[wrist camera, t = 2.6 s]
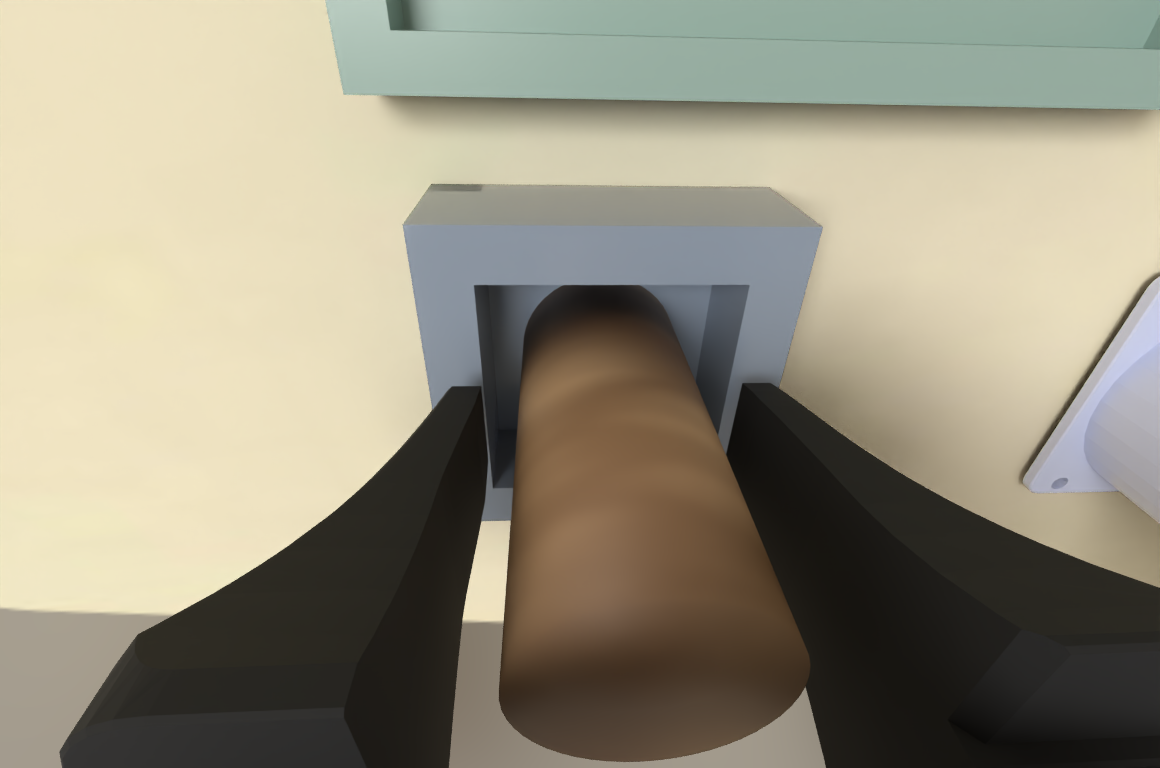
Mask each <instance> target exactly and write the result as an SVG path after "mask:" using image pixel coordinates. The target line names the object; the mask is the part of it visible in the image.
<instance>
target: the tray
mask: <svg viewBox="0 0 1160 768" xmlns="http://www.w3.org/2000/svg"><path fill="white" fill-rule="evenodd" d="M325 2H326V7H327V12H328V17H329V22H330V27H331V32H332V37H333V42H334V47H335V53H336V58H337V63H338V68H339V73H340V78H341V83H342V88H343V93H344V95H394V96H447V97H501V98H555V99H609V100H663V101H716V102H770V103H824V104H878V105H931V106H985V107H1039V108H1093V109H1147V110H1160V0H325Z"/></svg>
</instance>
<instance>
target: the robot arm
mask: <svg viewBox="0 0 1160 768" xmlns="http://www.w3.org/2000/svg"><path fill="white" fill-rule="evenodd" d="M726 456H727V459H728V461H729V463H730V466H731V468H732V471H733V473H734V476H735V478H736V480H737V483H738V485H739V488H740V490H741V492H742V495H743V497H744V500H745V502H746V504H747V507H748V509H749V512H750V514H751V517H752V519H753V521H754V524H755V526H756V529H757V531H758V533H759V536H760V538H761V541H762V543H763V545H764V548H765V550H766V553H767V555H768V557H769V560H770V562H771V565H772V567H773V570H774V572H775V574H776V577H777V579H778V582H779V584H780V586H781V589H782V591H783V594H784V596H785V598H786V601H787V603H788V606H789V608H790V610H791V613H792V615H793V618H794V620H795V623H796V625H797V627H798V630H799V632H800V635H801V637H802V639H803V642H804V644H805V647H806V649H807V651H808V654H809V659H810V673H809V678H808V681H807V683H806V690H807V693H808V697H809V701H810V705H811V709H812V713H813V716H814V721H815V724H816V728H817V732H818V736H819V740H820V744H821V748H822V752H823V756H824V760H825V765H826V768H1160V588H1158V587H1155V586H1152V585H1150V584H1147V583H1144V582H1141V581H1138V580H1135V579H1132V578H1130V577H1127V576H1124V575H1121V574H1118V573H1115V572H1112V571H1110V570H1107V569H1104V568H1101V567H1098V566H1096V565H1093V564H1090V563H1088V562H1085V561H1083V560H1080V559H1078V558H1075V557H1073V556H1070V555H1068V554H1065V553H1063V552H1060V551H1058V550H1055V549H1053V548H1050V547H1048V546H1045V545H1043V544H1040V543H1038V542H1036V541H1034V540H1031V539H1029V538H1027V537H1024V536H1022V535H1020V534H1017V533H1015V532H1013V531H1011V530H1008V529H1006V528H1004V527H1002V526H1000V525H998V524H996V523H994V522H992V521H989V520H987V519H985V518H983V517H981V516H979V515H977V514H975V513H973V512H970V511H968V510H966V509H964V508H963V507H961V506H959V505H957V504H955V503H953V502H951V501H949V500H947V499H945V498H943V497H941V496H940V495H938V494H936V493H934V492H933V491H931V490H929V489H927V488H925V487H924V486H922V485H920V484H918V483H916V482H915V481H913V480H911V479H909V478H908V477H906V476H904V475H903V474H901V473H899V472H898V471H896V470H894V469H893V468H891V467H890V466H888V465H887V464H885V463H884V462H882V461H880V460H879V459H877V458H876V457H874V456H873V455H871V454H870V453H868V452H867V451H865V450H864V449H862V448H861V447H859V446H858V445H856V444H855V443H853V442H852V441H850V440H849V439H848V438H846V437H845V436H843V435H842V434H841V433H839V432H838V431H836V430H835V429H834V428H832V427H831V426H830V425H828V424H827V423H825V422H824V421H823V420H821V419H820V418H819V417H817V416H816V415H815V414H813V413H812V412H811V411H809V410H808V409H807V408H805V407H804V406H803V405H801V404H800V403H798V402H797V401H796V400H794V399H793V398H792V397H790V396H789V395H788V394H786V393H785V392H783V391H782V390H780V389H779V388H778V387H776V386H774V385H773V384H771V383H742V386H741V391H740V395H739V400H738V404H737V408H736V413H735V417H734V422H733V426H732V430H731V435H730V439H729V443H728V448H727V452H726ZM487 472H488V451H487V441H486V430H485V420H484V409H483V399H482V389H481V386H452V387H451V388H450V389H449V390H447V392H446V393H445V394H444V396H443V397H442V398H441V400H440V401H439V402H438V403H437V405H436V406H435V407H434V409H433V410H432V411H431V412H430V414H429V415H428V416H427V417H426V419H425V420H424V421H423V422H422V424H421V425H420V426H419V427H418V428H417V430H416V431H415V432H414V433H413V434H412V435H411V437H410V438H409V439H408V440H407V441H406V442H405V444H404V445H403V446H402V447H401V448H400V449H399V450H398V451H397V452H396V454H395V455H394V456H393V457H392V458H391V459H390V460H389V461H388V462H387V463H386V464H385V465H384V466H383V467H382V468H381V469H380V470H379V471H378V472H377V473H376V474H375V475H374V476H373V477H372V478H371V479H370V480H369V481H368V482H367V483H366V484H365V485H364V486H363V487H362V488H361V489H360V490H358V491H357V492H356V493H355V494H354V495H353V496H352V497H351V498H349V499H348V500H347V501H346V502H345V503H344V504H343V505H341V506H340V507H339V508H338V509H337V510H336V511H334V512H333V513H332V514H331V515H329V516H328V517H327V518H325V519H324V520H323V521H321V522H320V523H319V524H317V525H316V526H315V527H313V528H312V529H311V530H309V531H308V532H306V533H305V534H304V535H302V536H301V537H300V538H298V539H297V540H296V541H294V542H293V543H292V544H290V545H289V546H288V547H286V548H285V549H283V550H282V551H280V552H279V553H277V554H276V555H274V556H273V557H271V558H270V559H268V560H267V561H265V562H264V563H262V564H261V565H259V566H258V567H256V568H254V569H253V570H251V571H250V572H248V573H246V574H245V575H243V576H241V577H240V578H238V579H237V580H235V581H233V582H232V583H230V584H228V585H227V586H225V587H223V588H222V589H220V590H218V591H217V592H215V593H213V594H212V595H210V596H208V597H206V598H204V599H202V600H201V601H199V602H197V603H195V604H193V605H191V606H190V607H188V608H186V609H184V610H182V611H181V612H179V613H177V614H175V615H173V616H171V617H170V618H168V619H166V620H164V621H162V622H161V623H159V624H157V625H155V626H153V627H151V628H149V629H147V630H145V631H143V632H141V633H140V634H138V635H137V636H136V638H135V639H134V640H133V642H132V643H131V644H130V646H129V647H128V649H127V650H126V651H125V653H124V654H123V655H122V657H121V658H120V660H119V661H118V662H117V664H116V665H115V667H114V668H113V669H112V671H111V673H110V674H109V676H108V677H107V679H106V680H105V682H104V683H103V685H102V686H101V688H100V689H99V691H98V693H97V694H96V695H95V697H94V699H93V700H92V702H91V703H90V705H89V706H88V708H87V709H86V711H85V712H84V714H83V715H82V717H81V718H80V720H79V721H78V723H77V724H76V726H75V728H74V729H73V731H72V732H71V734H70V735H69V737H68V738H67V740H66V742H65V743H64V745H63V747H62V748H61V750H60V758H61V763H62V768H449V758H450V746H451V734H452V722H453V710H454V700H455V689H456V678H457V667H458V656H459V648H460V638H461V628H462V619H463V612H464V606H465V599H466V594H467V589H468V584H469V579H470V574H471V569H472V564H473V559H474V554H475V549H476V545H477V540H478V535H479V530H480V525H481V520H482V515H483V510H484V505H485V497H486V485H487ZM1023 484H1024V485H1025V486H1026V487H1027V488H1028V489H1029V490H1030V491H1031V492H1033V493H1067V492H1110V491H1120V492H1121V493H1122V494H1124V495H1125V496H1126V497H1127V498H1128V499H1130V500H1131V501H1132V502H1133V503H1135V504H1136V505H1137V506H1138V507H1139V508H1141V509H1142V510H1143V511H1144V512H1146V513H1147V514H1148V515H1149V516H1150V517H1152V518H1153V519H1154V520H1155V521H1157V522H1158V523H1159V524H1160V276H1159V277H1158V278H1157V279H1155V280H1154V281H1153V282H1152V283H1151V284H1150V285H1149V286H1148V287H1147V289H1146V290H1145V292H1144V293H1143V295H1142V297H1141V298H1140V300H1139V301H1138V303H1137V304H1136V306H1135V307H1134V309H1133V310H1132V312H1131V313H1130V315H1129V316H1128V318H1127V320H1126V321H1125V323H1124V324H1123V326H1122V327H1121V329H1120V330H1119V332H1118V333H1117V335H1116V336H1115V338H1114V339H1113V341H1112V343H1111V344H1110V346H1109V347H1108V349H1107V350H1106V352H1105V353H1104V355H1103V356H1102V358H1101V359H1100V361H1099V362H1098V364H1097V366H1096V367H1095V369H1094V370H1093V372H1092V373H1091V375H1090V376H1089V378H1088V379H1087V381H1086V382H1085V384H1084V385H1083V387H1082V389H1081V390H1080V392H1079V393H1078V395H1077V396H1076V398H1075V399H1074V401H1073V402H1072V404H1071V405H1070V407H1069V408H1068V410H1067V412H1066V413H1065V415H1064V416H1063V418H1062V419H1061V421H1060V422H1059V424H1058V425H1057V427H1056V428H1055V430H1054V431H1053V433H1052V434H1051V436H1050V438H1049V439H1048V441H1047V442H1046V444H1045V445H1044V447H1043V448H1042V450H1041V451H1040V453H1039V454H1038V456H1037V457H1036V459H1035V461H1034V462H1033V464H1032V465H1031V467H1030V468H1029V470H1028V471H1027V473H1026V474H1025V476H1024V479H1023Z"/></svg>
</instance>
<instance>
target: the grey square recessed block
mask: <svg viewBox="0 0 1160 768" xmlns="http://www.w3.org/2000/svg"><path fill="white" fill-rule="evenodd" d="M822 228H823V227H822V226H821V225H819V224H818V223H817V222H815V221H814V220H813V219H811V218H810V217H809V216H807V215H806V214H805V213H803V212H802V211H801V210H799V209H798V208H797V207H795V206H794V205H793V204H791V203H790V202H789V201H787V200H786V199H785V198H783V197H782V196H780V195H779V194H778V193H776V192H775V191H774V190H772V189H771V188H770V187H669V186H565V185H461V184H431V185H430V187H429V188H428V190H427V191H426V192H425V194H424V195H423V197H422V198H421V199H420V201H419V202H418V204H417V205H416V207H415V208H414V209H413V211H412V212H411V214H410V215H409V217H408V218H407V219H406V221H405V222H404V224H403V229H404V236H405V242H406V248H407V254H408V260H409V267H410V273H411V279H412V285H413V291H414V298H415V304H416V310H417V316H418V322H419V329H420V335H421V341H422V347H423V353H424V359H425V366H426V372H427V378H428V384H429V390H430V397H431V403H432V409H434V407H435V406H436V405H437V403H438V402H439V401H440V400H441V398H442V397H443V396H444V394H445V393H446V392H447V390H449V389H450V388H451V387H452V386H481V389H482V399H483V409H484V420H485V430H486V441H487V451H488V472H487V485H486V497H485V505H484V510H483V515H482V520H481V521H506V520H511V512H512V498H513V483H514V469H515V455H516V441H517V426H518V412H519V398H520V384H521V370H522V355H523V341H524V334H525V329H526V326H527V323H528V320H529V319H530V317H531V315H532V313H533V311H534V310H535V308H536V307H537V306H538V304H539V303H540V302H541V301H542V300H543V299H544V298H545V297H546V296H548V295H549V294H550V293H551V292H552V291H554V290H556V289H557V288H559V287H560V286H562V285H640V286H642V287H643V288H645V289H646V290H648V291H649V292H651V293H652V294H653V295H654V296H655V297H656V298H657V299H658V300H659V302H660V303H661V304H662V305H663V307H664V309H665V310H666V312H667V314H668V317H669V319H670V321H671V324H672V326H673V329H674V331H675V333H676V336H677V338H678V341H679V343H680V345H681V348H682V350H683V353H684V355H685V357H686V360H687V362H688V365H689V367H690V370H691V372H692V374H693V377H694V379H695V382H696V384H697V386H698V389H699V391H700V394H701V396H702V398H703V401H704V403H705V406H706V408H707V410H708V413H709V415H710V418H711V420H712V423H713V425H714V427H715V430H716V432H717V435H718V437H719V439H720V442H721V444H722V447H723V449H724V451H725V454H726V452H727V448H728V443H729V439H730V435H731V430H732V426H733V422H734V417H735V413H736V408H737V404H738V400H739V395H740V391H741V386H742V383H771V384H773V385H774V386H776V387H778V388H779V385H780V381H781V378H782V374H783V371H784V367H785V363H786V360H787V356H788V352H789V349H790V345H791V341H792V338H793V334H794V330H795V327H796V323H797V319H798V316H799V312H800V309H801V305H802V301H803V298H804V294H805V290H806V287H807V283H808V279H809V276H810V272H811V268H812V265H813V261H814V258H815V254H816V250H817V247H818V243H819V239H820V236H821V232H822Z"/></svg>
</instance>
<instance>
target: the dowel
mask: <svg viewBox="0 0 1160 768" xmlns="http://www.w3.org/2000/svg"><path fill="white" fill-rule="evenodd" d="M502 641H503V642H502V654H501V670H500V684H499V702H500V706H501V710H502V712H503V714H504V716H505V717H506V719H507V721H508V722H509V723H510V724H511V725H512V726H513V728H514V729H516V730H517V731H518V732H519V733H520V734H522V735H523V736H524V737H526V738H528V739H529V740H531V741H532V742H534V743H536V744H538V745H540V746H543V747H545V748H547V749H551V750H553V751H556V752H559V753H562V754H567V755H570V756H574V757H580V758H585V759H591V760H601V761H616V762H640V761H654V760H663V759H670V758H677V757H682V756H687V755H692V754H696V753H701V752H704V751H708V750H712V749H715V748H718V747H721V746H724V745H727V744H730V743H732V742H734V741H737V740H740V739H742V738H744V737H746V736H748V735H750V734H752V733H754V732H756V731H758V730H759V729H761V728H763V727H765V726H766V725H768V724H770V723H771V722H772V721H774V720H775V719H777V718H778V717H780V716H781V715H782V714H783V713H784V712H785V711H786V710H787V709H789V708H790V707H791V706H792V705H793V703H794V702H795V701H796V700H797V699H798V698H799V696H800V695H801V693H802V691H803V690H804V688H805V686H806V683H807V681H808V678H809V673H810V659H809V654H808V651H807V649H806V647H805V644H804V642H803V639H802V637H801V635H800V632H799V630H798V627H797V625H796V623H795V620H794V618H793V615H792V613H791V610H790V608H789V606H788V603H787V601H786V598H785V596H784V594H783V591H782V589H781V586H780V584H779V582H778V579H777V577H776V574H775V572H774V570H773V567H772V565H771V562H770V560H769V557H768V555H767V553H766V550H765V548H764V545H763V543H762V541H761V538H760V536H759V533H758V531H757V529H756V526H755V524H754V521H753V519H752V517H751V514H750V512H749V509H748V507H747V504H746V502H745V500H744V497H743V495H742V492H741V490H740V488H739V485H738V483H737V480H736V478H735V476H734V473H733V471H732V468H731V466H730V463H729V461H728V459H727V456H726V454H725V451H724V449H723V447H722V444H721V442H720V439H719V437H718V435H717V432H716V430H715V427H714V425H713V423H712V420H711V418H710V415H709V413H708V410H707V408H706V406H705V403H704V401H703V398H702V396H701V394H700V391H699V389H698V386H697V384H696V382H695V379H694V377H693V374H692V372H691V370H690V367H689V365H688V362H687V360H686V357H685V355H684V353H683V350H682V348H681V345H680V343H679V341H678V338H677V336H676V333H675V331H674V329H673V326H672V324H671V321H670V319H669V317H668V314H667V312H666V310H665V309H664V307H663V305H662V304H661V303H660V302H659V300H658V299H657V298H656V297H655V296H654V295H653V294H652V293H651V292H649V291H648V290H646V289H645V288H643V287H642V286H640V285H562V286H560V287H559V288H557V289H556V290H554V291H552V292H551V293H550V294H549V295H548V296H546V297H545V298H544V299H543V300H542V301H541V302H540V303H539V304H538V306H537V307H536V308H535V310H534V311H533V313H532V315H531V317H530V319H529V320H528V323H527V326H526V329H525V334H524V341H523V355H522V370H521V384H520V398H519V412H518V426H517V441H516V455H515V469H514V483H513V498H512V512H511V526H510V540H509V555H508V569H507V583H506V597H505V612H504V626H503V640H502Z"/></svg>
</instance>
